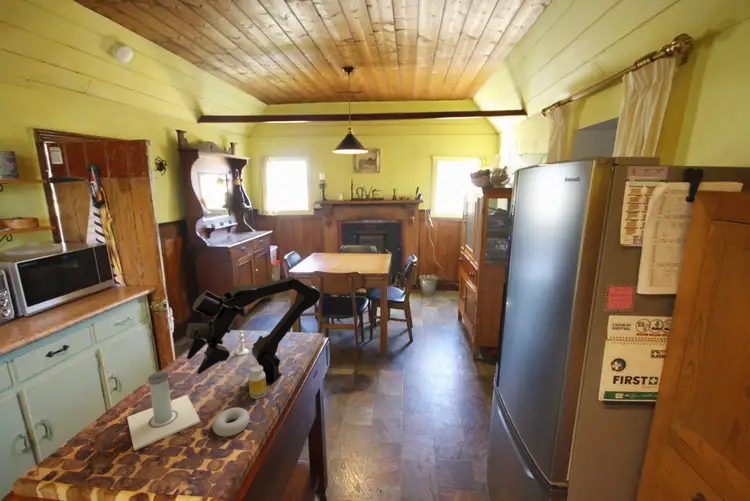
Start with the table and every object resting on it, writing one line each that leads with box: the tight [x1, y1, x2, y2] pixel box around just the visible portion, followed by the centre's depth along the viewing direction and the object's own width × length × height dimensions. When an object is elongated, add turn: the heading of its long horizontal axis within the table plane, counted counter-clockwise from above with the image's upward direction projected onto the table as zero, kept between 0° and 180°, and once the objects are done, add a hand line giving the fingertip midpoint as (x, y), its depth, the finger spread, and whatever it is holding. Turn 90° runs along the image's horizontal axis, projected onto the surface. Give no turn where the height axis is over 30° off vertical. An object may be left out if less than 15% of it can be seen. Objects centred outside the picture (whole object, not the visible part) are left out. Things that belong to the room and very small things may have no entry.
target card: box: [127, 394, 201, 451], centre depth 96 cm, size 16×16×1 cm
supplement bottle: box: [248, 364, 267, 399], centre depth 108 cm, size 5×5×10 cm
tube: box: [147, 370, 173, 424], centre depth 95 cm, size 5×5×14 cm
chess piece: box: [236, 330, 250, 357], centre depth 135 cm, size 5×5×10 cm
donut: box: [211, 407, 251, 438], centre depth 94 cm, size 10×4×10 cm
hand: (193, 365), depth 102 cm, fingers open, 9 cm apart
